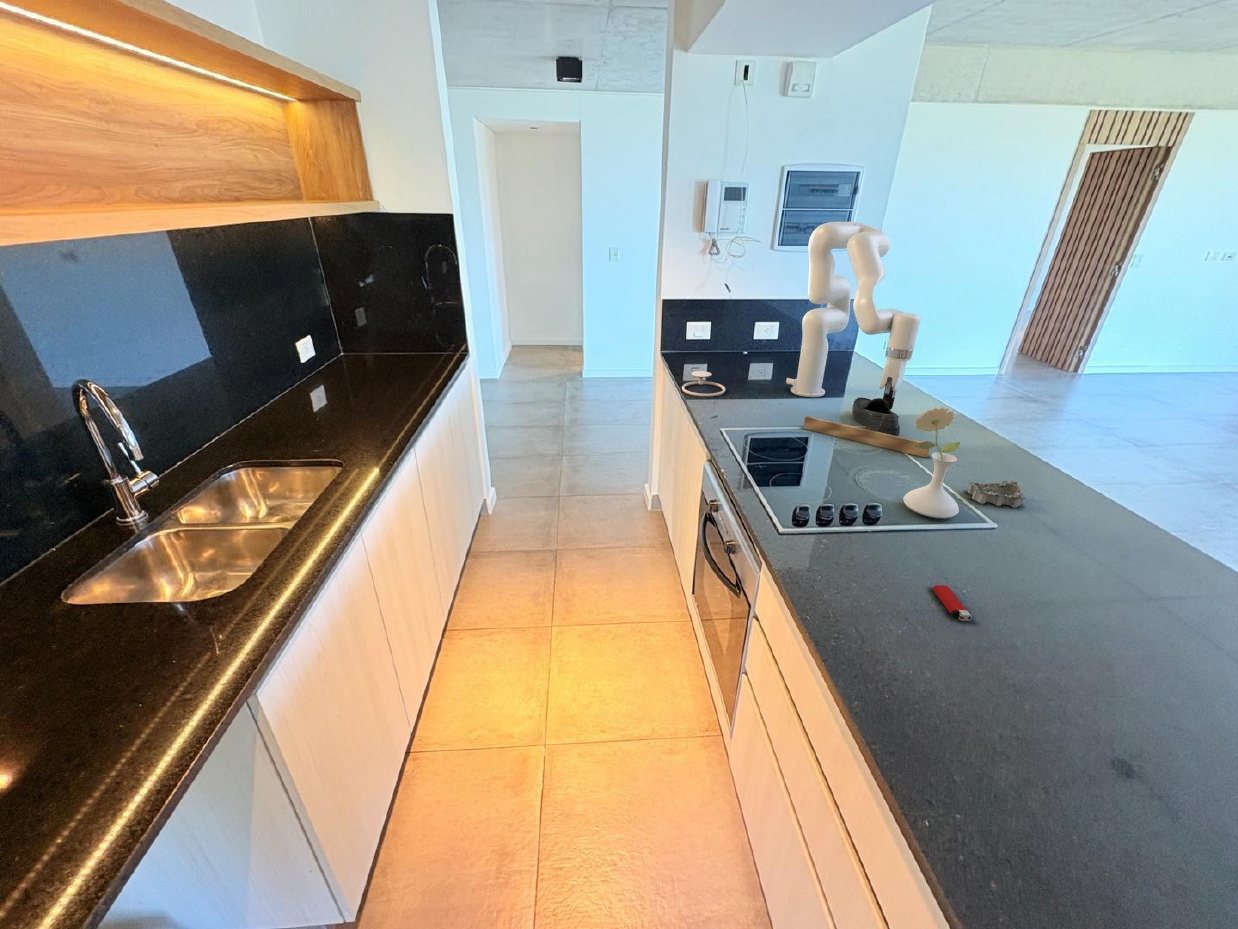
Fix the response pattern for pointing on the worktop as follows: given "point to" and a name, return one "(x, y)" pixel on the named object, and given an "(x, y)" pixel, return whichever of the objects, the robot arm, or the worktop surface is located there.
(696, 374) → the hand towel holder
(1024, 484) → the worktop surface
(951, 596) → the lighter
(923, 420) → the flower in vase
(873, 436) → the long wooden plank
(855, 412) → the loafer
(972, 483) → the egg carton
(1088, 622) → the worktop surface
